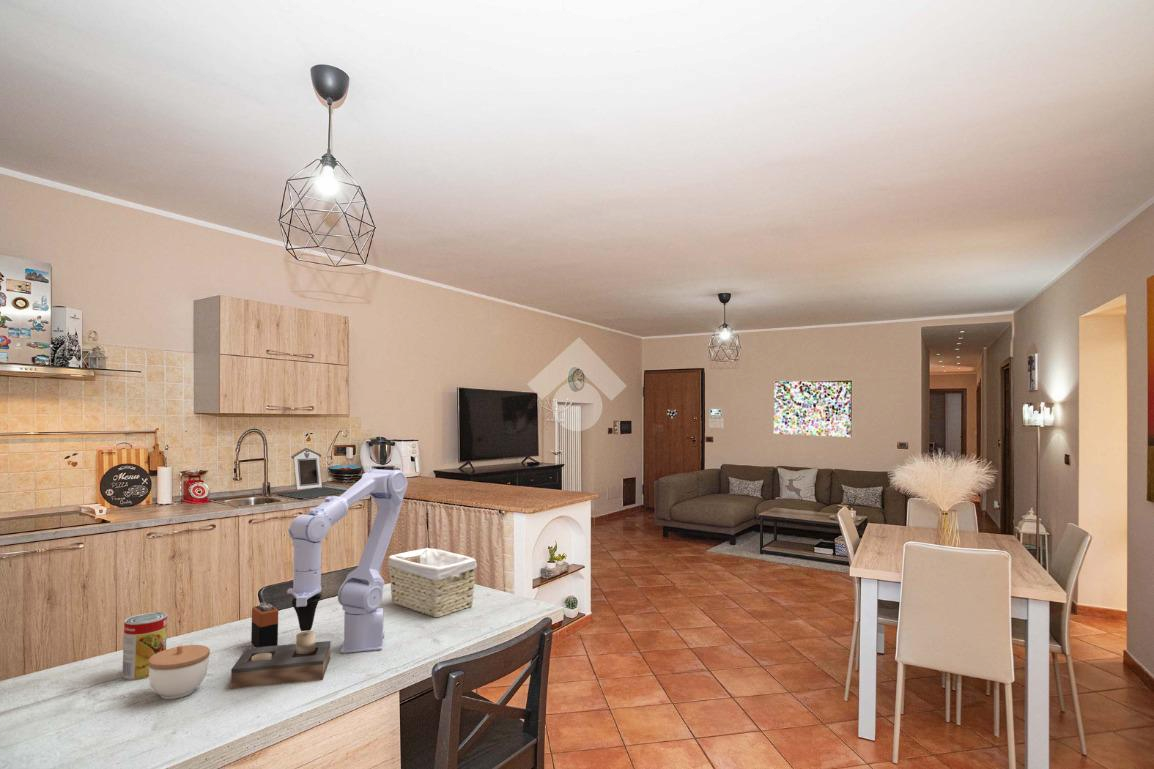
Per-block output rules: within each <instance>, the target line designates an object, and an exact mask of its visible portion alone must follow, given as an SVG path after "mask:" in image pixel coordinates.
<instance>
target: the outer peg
mask: <svg viewBox="0 0 1154 769" xmlns="http://www.w3.org/2000/svg"><path fill="white" fill-rule="evenodd" d="M270 659H272V654H271V653H260V654H256V655H254V656H252V658H251V661H259V660H270Z"/></svg>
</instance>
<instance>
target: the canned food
mask: <svg viewBox="0 0 1154 769" xmlns="http://www.w3.org/2000/svg"><path fill="white" fill-rule="evenodd" d="M123 622H124V623H123V647H122V648H123V649H122V671H121V672H122V674H121V678H122V679H124V680H128V681H134V680H135V681H136V679H138V680H143V678H144V679H147V678H148V677H149V666H148V660H149V658H150V657H151V656H153V655H154V654H156V653H158V652H160V651H163V650H166V649H167V637H168V636H167V635H168V634H167V633H168V632H167V631H168V630H167V628H168V613H167V612H162V611H161V612H160V611H154V612H153V611H152V612H146V613H145V612H143V613H140V614H136V615H133V616H128V618H126V619H125V620H124V621H123ZM148 679H149V678H148Z"/></svg>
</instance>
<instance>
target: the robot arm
mask: <svg viewBox="0 0 1154 769" xmlns="http://www.w3.org/2000/svg"><path fill="white" fill-rule="evenodd" d="M408 484H409V483H408V479H407V477H406V475H405V473H404V472H403V470H401V469H395V470H393V469H377V468H371V469H369V470H368V471H366V472H364V473H363V474H361V478H360V479H359V480H358V481H357V482H355V483H354V484H353V485H352V486H351V487H349V488H348V489H347V490H345V491H344V492H343V493H342V494H341V495H339V496H337V495H332V496H331V495H330V496H329V495H328V496H327V497H325V498H324V501H323V502H321V503H320V504H319V505H317V506H316V507H312V508H311V509H310V510H309V511H308V513H306V514H299V515H298V516H296V517H295V518H294V519H293V520H292V522H291V523H290V525H289V526H290V527H289V528H288V530H287V531H288V534H289V537H290V538H291V540H292V546H293V583H292V584H293V586H292V587H293V588H291V587H289V588H288V589H287V591H286V592H287V593H286V594H288V595H290V594H291V595H293V597H294V598H293V599H292V600H291V605H292V607H293V609H294V611H295V614H296V616H297V621H298V626H299V630H300V632H305V631H312V627H313V625H314V620H315V616H316V611H317V606H318V604H319V601H321V598H322V594H321V593H320V592H322V587H323V586H322V583H321V582H322V551H323V550H322V549H323V548H322V546H323V543H322V542H323V540H324V539H325V538H326V537H327V535H328V532H329V530H330V529H331V527H333V526H334V525H335V524H337V523H338V522H339V521H341V520H342V519H343V518H344V517H346V516H347V515H348V512H349V508H350V507H352V506H353V505H355V504H357V503H358V502H360V501H361V500H363V499H365V498H366V497H367V496H368V495H369V496H370V498H371V499H372V500H373V501H374V502H375V503H376V505H377V507H378V509H377V512H376V516H375V518H374V519H373V520H374V521H373V523H372V526H371V529H370V532H369V534H368V536H367V541H366V543H365V545H364V549H363V552H362V554H361V556H360V559H359V562H358V565H357V567H356V568H354V569H353V570H352V571H350V572H349V573H348V574H347V576H346V578H345V580H344V582H343V583H342V584H341V585H340V587H339V589H338V592H337V601H338V603H339V605H341V606H342V611H344V618H343V619H344V624H343V625H344V626H343V634H344V635H343V641H342V646H341V649H340V654H347V653H357V652H368V651H379V650H382V649H383V644H384V639H385V631H384V623H385V622H384V617H385V616H384V615H385V611H384V608H382V607H381V608H380V607H379V606H380V605H381V602H382V600H383V595H384V594H383V593H384V586H385V580H384V579H383V578H382V576H381V574H380V571H381V568H382V565H383V561H384V559H385V557H386V553H387V550H388V547H389V546H390V545H389V544H390V542H391V538H392V535H393V534H394V530H395V528H396V525H397V521H398V519H399V516H400V513H401V509H402V505H403V501H404V497H405V494H406V492H407V488H408Z"/></svg>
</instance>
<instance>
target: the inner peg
mask: <svg viewBox="0 0 1154 769" xmlns="http://www.w3.org/2000/svg"><path fill="white" fill-rule="evenodd" d="M316 633H317V632H316V631H315V630H313V631H312V630H310V631H300V632H299V633H297V634H296V635H295V637H296V638H295V640H296V641H295V644H296V653H298V654H307V653H311V652H313V651H315V644H316V642H317V640H316V636H317V634H316Z"/></svg>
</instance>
